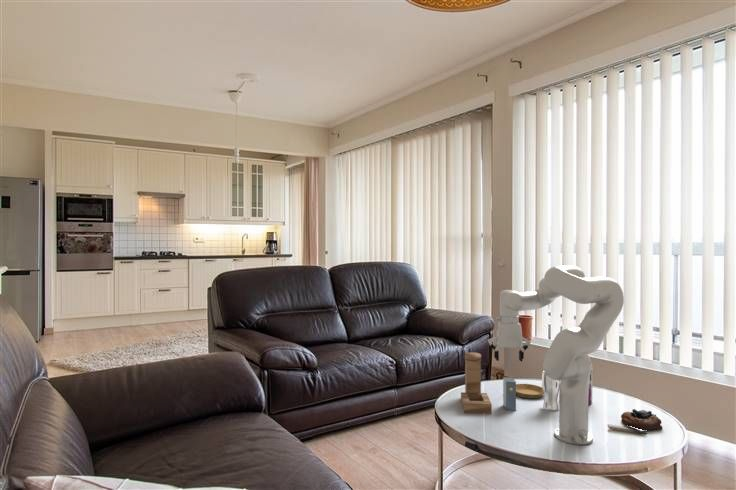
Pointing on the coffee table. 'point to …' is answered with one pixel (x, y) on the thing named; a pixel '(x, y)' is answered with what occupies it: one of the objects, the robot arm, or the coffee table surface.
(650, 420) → the pastry
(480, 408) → the wooden square frame
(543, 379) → the white vase
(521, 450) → the coffee table surface
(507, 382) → the grey box with cap
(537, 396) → the plant saucer
